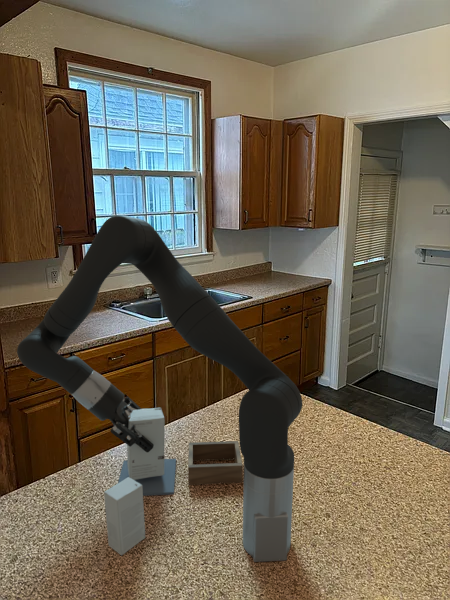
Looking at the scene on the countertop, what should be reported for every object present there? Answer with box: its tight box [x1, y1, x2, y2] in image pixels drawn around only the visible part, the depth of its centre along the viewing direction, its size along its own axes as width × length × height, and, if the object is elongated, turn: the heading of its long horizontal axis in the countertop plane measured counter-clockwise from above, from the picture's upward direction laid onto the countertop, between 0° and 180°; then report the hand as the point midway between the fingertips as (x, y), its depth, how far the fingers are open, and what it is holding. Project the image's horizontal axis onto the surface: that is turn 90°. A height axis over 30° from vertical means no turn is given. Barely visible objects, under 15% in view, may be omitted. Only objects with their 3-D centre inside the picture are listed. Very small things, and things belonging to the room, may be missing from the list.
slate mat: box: [117, 458, 177, 497], centre depth 106 cm, size 13×13×1 cm
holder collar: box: [187, 440, 244, 486], centre depth 109 cm, size 10×12×4 cm
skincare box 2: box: [126, 407, 166, 480], centre depth 104 cm, size 8×6×15 cm
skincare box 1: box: [103, 477, 146, 556], centre depth 86 cm, size 6×4×12 cm
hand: (152, 440), depth 104 cm, fingers closed on skincare box 2, 6 cm apart
